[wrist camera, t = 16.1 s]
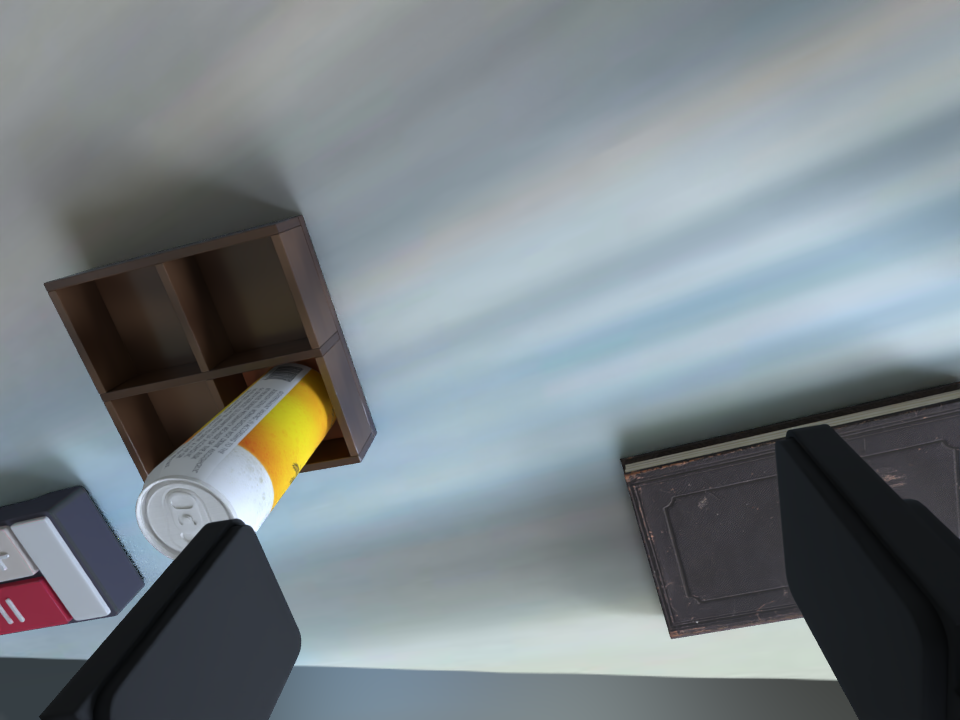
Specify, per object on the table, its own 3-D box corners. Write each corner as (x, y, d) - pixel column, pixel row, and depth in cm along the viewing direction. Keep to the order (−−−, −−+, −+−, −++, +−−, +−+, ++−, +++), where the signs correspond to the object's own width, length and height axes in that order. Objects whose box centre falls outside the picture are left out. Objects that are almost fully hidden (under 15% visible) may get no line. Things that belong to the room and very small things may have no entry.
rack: (89, 269, 42) (42, 283, 38) (302, 214, 39) (275, 223, 35) (184, 468, 48) (151, 498, 44) (377, 433, 45) (361, 462, 41)
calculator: (-96, 546, 49) (40, 515, 45) (-46, 515, 53) (83, 483, 49) (-19, 644, 52) (112, 623, 49) (22, 608, 56) (147, 585, 52)
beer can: (271, 435, 44) (148, 573, 31) (252, 361, 42) (111, 472, 28) (348, 432, 44) (257, 571, 30) (333, 356, 42) (227, 468, 28)
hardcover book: (620, 458, 43) (624, 475, 41) (964, 379, 39) (989, 394, 37) (666, 621, 48) (672, 644, 46) (976, 568, 44) (998, 591, 42)
